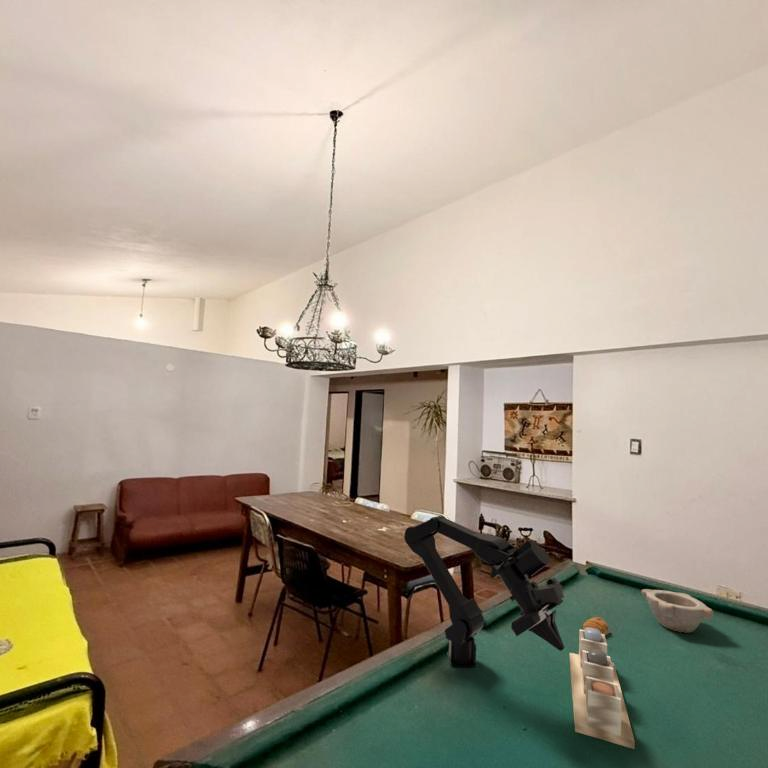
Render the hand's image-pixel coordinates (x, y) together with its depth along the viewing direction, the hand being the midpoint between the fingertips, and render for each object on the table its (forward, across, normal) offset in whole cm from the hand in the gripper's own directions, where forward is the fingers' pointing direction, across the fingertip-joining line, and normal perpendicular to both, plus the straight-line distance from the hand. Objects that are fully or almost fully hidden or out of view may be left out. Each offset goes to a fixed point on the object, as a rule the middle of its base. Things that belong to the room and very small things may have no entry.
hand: (562, 649), depth 98 cm
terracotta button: (+13, 0, 0) cm, 13 cm away
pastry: (+6, +46, +13) cm, 48 cm away
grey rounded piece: (+9, +11, +2) cm, 14 cm away
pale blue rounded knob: (+6, +23, +5) cm, 24 cm away
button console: (+12, +11, +6) cm, 18 cm away
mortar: (+18, +72, 0) cm, 75 cm away
